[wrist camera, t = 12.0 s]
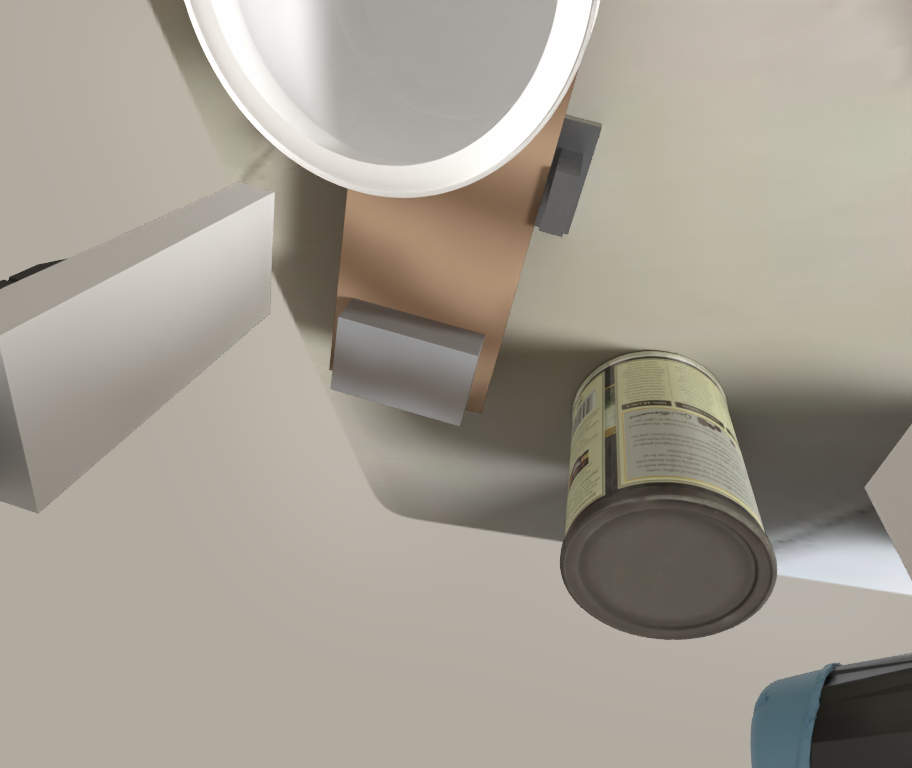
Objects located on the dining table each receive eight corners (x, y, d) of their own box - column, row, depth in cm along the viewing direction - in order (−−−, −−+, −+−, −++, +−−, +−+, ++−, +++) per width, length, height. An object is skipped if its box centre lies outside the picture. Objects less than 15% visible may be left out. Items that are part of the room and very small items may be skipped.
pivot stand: (354, 60, 35) (312, 73, 30) (601, 124, 34) (600, 148, 29) (344, 169, 38) (305, 196, 33) (568, 228, 37) (562, 266, 32)
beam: (400, -217, 25) (368, -247, 22) (642, -161, 25) (648, -183, 21) (337, 358, 41) (314, 391, 38) (485, 400, 40) (474, 437, 37)
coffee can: (721, 475, 44) (762, 651, 33) (573, 470, 47) (562, 631, 35) (738, 347, 39) (794, 502, 27) (570, 348, 41) (556, 491, 30)
